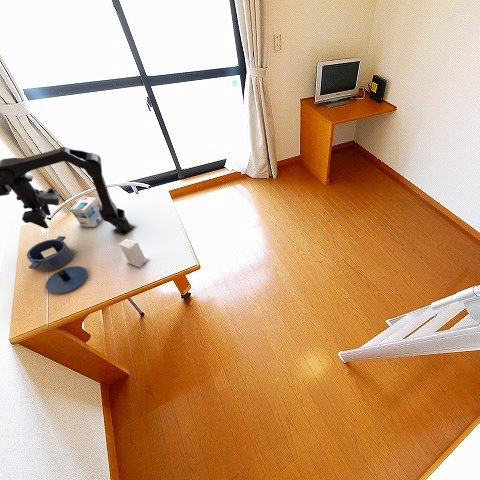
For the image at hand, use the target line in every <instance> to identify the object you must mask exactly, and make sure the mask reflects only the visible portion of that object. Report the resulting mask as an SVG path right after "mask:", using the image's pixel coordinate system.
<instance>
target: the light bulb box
mask: <svg viewBox="0 0 480 480" xmlns="http://www.w3.org/2000/svg"><path fill="white" fill-rule="evenodd" d="M99 204H101V201H100V200H99V198H98V197H92V196H91V197H90V196H83V197H82V198H81V199H79V200H78V202H76V203H75V204H74V205H73V206H71V208H70V209H69V210H70V211H71V213H72V214H73V217H75V219H76V220H77V222H78V223H79V225H80V226H81V227H87V228H96V226H97V225H98V224H99V223H100V222H101V221H102V220H104V219H103V218H102V219H101V214H100V213H99Z"/></svg>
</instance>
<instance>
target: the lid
mask: <svg viewBox="0 0 480 480" xmlns="http://www.w3.org/2000/svg"><path fill="white" fill-rule="evenodd" d="M88 275H89V272H88V271H87V269H86V268H85V267H83V266H77V265H76V266H75V265H74V266H69V267H65V268H62V269H60V270H58V271H56V272H54V273H53V274H52V275H51V276H50V277H48V279H47V280H46V283H45V289H46V290H47V291H48V292H49V293H51V294H55V295H57V294H59V295H61V294H66V293H68V292H71V291H74V290H76V289H78V288H79V287H80V286H82V285H83V284H84V283H85V282H86V281H87V279H88Z"/></svg>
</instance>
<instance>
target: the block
mask: <svg viewBox="0 0 480 480" xmlns="http://www.w3.org/2000/svg"><path fill="white" fill-rule="evenodd" d="M41 253H42V255H43V257H44V258H45V259H47V258H49V257H52V256H54V255H56V254H57V253H58V252H57V251H56V250H55V249H54V247H52V248H50V249H48V250H45V251H43V252H41Z"/></svg>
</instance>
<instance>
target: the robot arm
mask: <svg viewBox="0 0 480 480" xmlns="http://www.w3.org/2000/svg"><path fill="white" fill-rule="evenodd" d="M62 162H66V163H69V164H71V165H73V166H75V167H77V168H79V169H83V170H85V172H86V174H87V175H88V176H89V177H90V178H91V180H92V182H93V185H94V189H95V191H96V193H97V196H98V200H99V202H100V204H99V213H100V214H101V219H102V218H103V219H102V220H104V222H107V223H109V224H110V225H112V226H113V227H115V228H114V229H113V232H115V233H118V234H120V235H123V236H125V235H126V234H128V233H129V232H131V230H133V229H134V228H135V226H134V225H131V224H130V222H129V220H128V219H127V217H126V212H125V210H124V209H121V208H119V207H117V206H116V204H115V202H114V201H113V200H112V198H111V195H110V192H109V189H108V187H107V183H106V181H105V178H104V175H103V167H102V158H101V156H100V155H99V154H97V153H95V152H88V151H85V150H81V149H74V148H70V147H66V146H61V147H59V148H57V149H52V150H48V151H45V152H42V153H37V154H34V155H30V156H27V157H9V158H3V159H0V197H3V196H10V193H11V192H13V193H14V194H15V195H16V198H15V199H16V200H17V201H20V202H21V203H22V205H23V206H22V208H23V209H24V210H26V209H31V210H26V211H24V212H23V213H22V217H21V220H22V221H23V223H25V224H29V223H31V224H33V225H36V226H38V227H41V228H44V229H49V225H48V222H47V221H46V218H47V216H51V215H52V214H51V211H50V208H49V205H50V206H59V205H60V201H61V200H60V193H59V192H58V191H57V190H56V189H55V188H54V187H53V188H52V187H49V188H47V190H44V189H42V190H41V189H40V190H39V189H37V188H34V187H33V185H32V183H31V182H33V179H34V175H32V174H28V173H29V172H31V171H34V170H38V169H41V168H46V167H48V166H53V165H55V164H59V163H62Z"/></svg>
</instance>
